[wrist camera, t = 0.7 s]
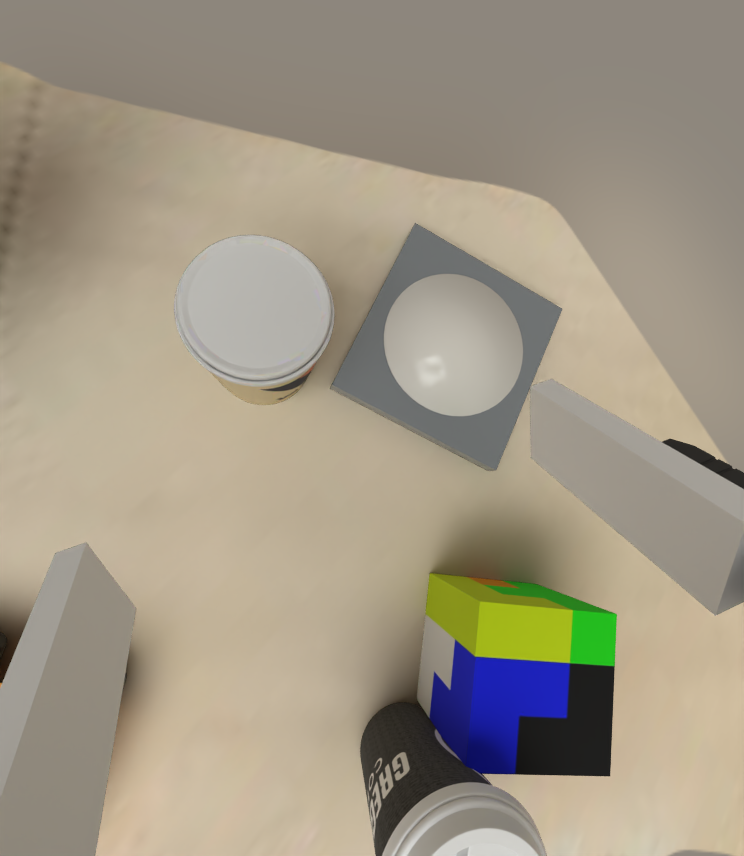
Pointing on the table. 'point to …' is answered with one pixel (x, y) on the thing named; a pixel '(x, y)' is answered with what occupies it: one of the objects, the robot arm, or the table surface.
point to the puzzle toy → (518, 677)
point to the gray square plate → (449, 349)
